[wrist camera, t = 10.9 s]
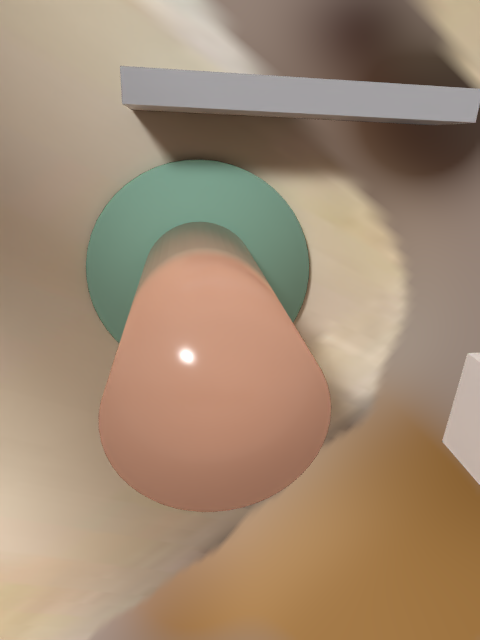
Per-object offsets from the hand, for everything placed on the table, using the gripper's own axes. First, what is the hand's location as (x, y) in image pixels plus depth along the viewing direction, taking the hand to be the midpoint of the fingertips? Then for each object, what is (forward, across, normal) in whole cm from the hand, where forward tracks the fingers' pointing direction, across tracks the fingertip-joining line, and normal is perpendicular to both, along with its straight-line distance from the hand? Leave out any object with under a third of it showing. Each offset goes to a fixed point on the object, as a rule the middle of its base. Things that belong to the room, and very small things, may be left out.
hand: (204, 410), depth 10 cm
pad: (+12, +1, 0) cm, 12 cm away
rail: (+12, +5, +8) cm, 15 cm away
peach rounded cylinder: (+12, 0, 0) cm, 12 cm away
